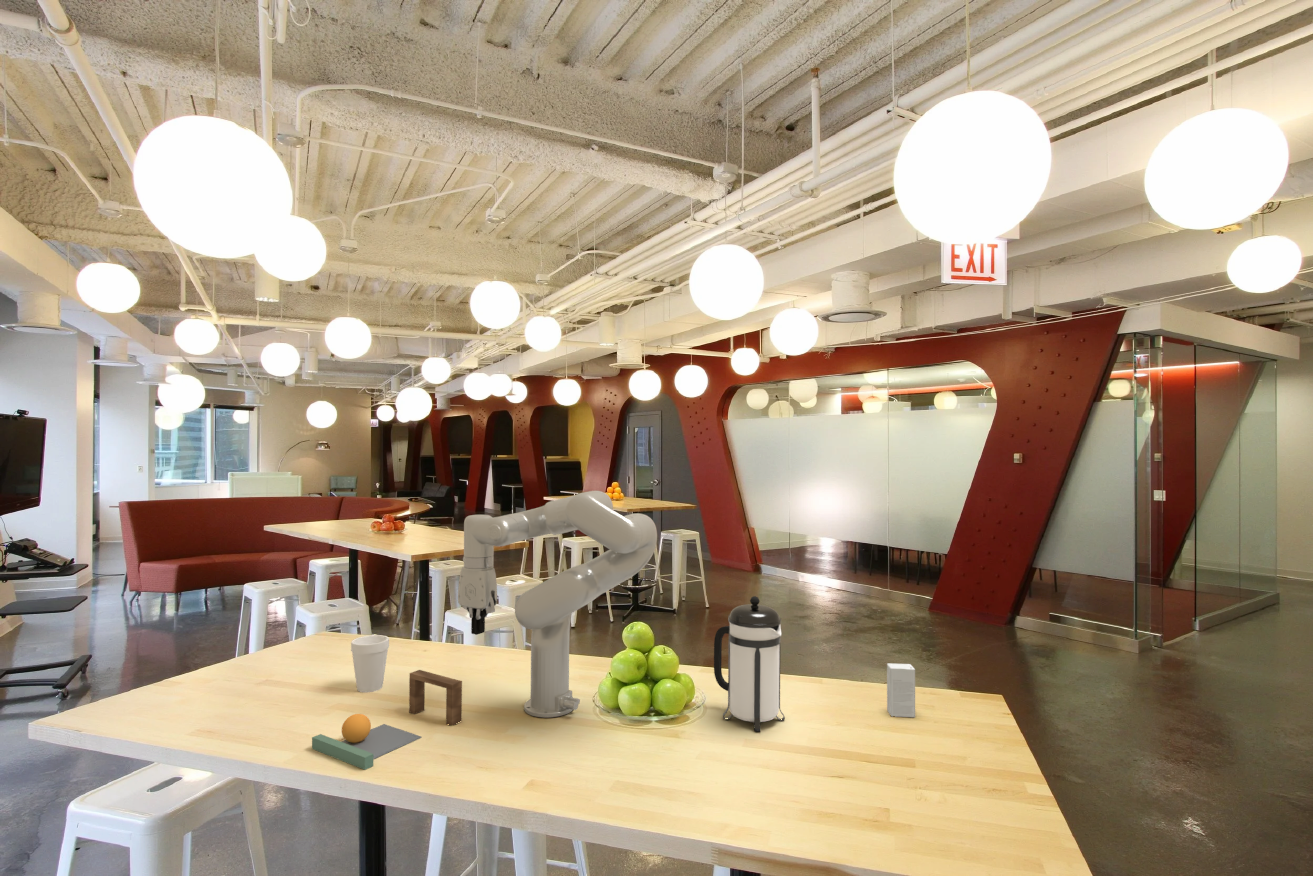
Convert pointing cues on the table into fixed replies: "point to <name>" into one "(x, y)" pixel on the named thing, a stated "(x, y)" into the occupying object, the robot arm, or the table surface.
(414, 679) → the bridge
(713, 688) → the table surface
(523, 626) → the robot arm
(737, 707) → the coffee press
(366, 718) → the ball
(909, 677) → the skincare box
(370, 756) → the stopper wall
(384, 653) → the foam cup
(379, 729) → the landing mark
